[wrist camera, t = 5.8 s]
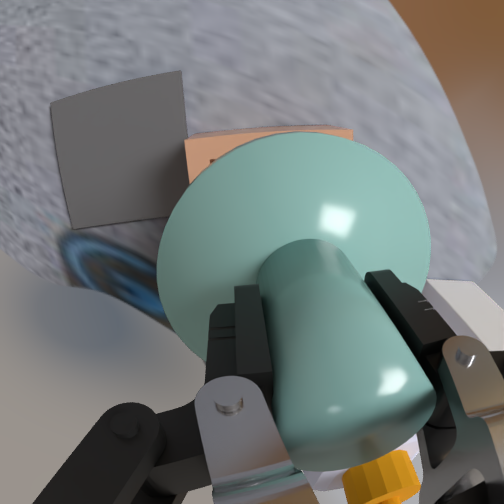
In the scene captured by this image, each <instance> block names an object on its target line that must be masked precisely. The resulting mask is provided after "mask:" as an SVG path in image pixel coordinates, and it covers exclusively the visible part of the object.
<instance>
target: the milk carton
mask: <svg viewBox="0 0 504 504" xmlns="http://www.w3.org/2000/svg"><path fill="white" fill-rule="evenodd" d="M422 295H423V296H424V297H425V298H426V299H427V301H429V303H430V304H431V305H432V306H433V309H435V310H436V311H437V312H438V313H439V314H440V315H441V317H442V318H443V319H444V320H445V321H446V323H447V324H448V325H449V326H450V328H451V329H452V330H453V331H454V332H455V334H456V335H457V336H458V335H464V336H470V337H473V338H475V339H477V340H479V341H480V342H482V343H483V344H484V345H485V346H486V347H487V349H488V350H489V351H504V310H503V309H502V308H500V306H498V305H497V304H496V303H495V302H494V301H493V300H492V299H491V298H490V297H489V296H488V295H487V294H486V293H485V292H484V291H483V290H482V289H480V288H479V287H478V286H477V285H476V284H475V283H474V282H472V281H453V280H434V279H426V282H425V285H424V288H423V290H422Z"/></svg>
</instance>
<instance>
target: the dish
mask: <svg viewBox="0 0 504 504" xmlns="http://www.w3.org/2000/svg"><path fill="white" fill-rule="evenodd" d="M293 131H305V132H319V133H324V134H330V135H335V136H339V137H342V138H346V139H349V140H351V141H353V130H352V129H347V128H342V127H336V126H331V125H297V126H275V127H259V128H246V129H234V130H224V131H214V132H205V133H197V134H194V135H192V136H190V137H189V138H187V139H185V140H184V142H185V150H186V159H187V167H188V175H189V182H190V183H191V182H192V181H193V180H194V179H195V178H196V177H197V176H198V175H199V174H200V173H201V172H202V170H204V169H205V168H206V167H207V166H208V165H210V164H211V163H212V162H213V161H215V160H216V159H217V158H218V157H220V156H222V155H223V154H225V153H227V152H228V151H230V150H232V149H233V148H235V147H237V146H239V145H242V144H244V143H246V142H249V141H251V140H253V139H256V138H260V137H264V136H268V135H271V134H275V133H284V132H293Z"/></svg>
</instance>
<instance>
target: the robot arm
mask: <svg viewBox="0 0 504 504" xmlns="http://www.w3.org/2000/svg"><path fill="white" fill-rule="evenodd" d="M364 282H365V283H366V284H367V286H368V287H369V289H370V290H371V292H372V293H373V294H374V296H375V297H376V299H377V300H378V302H379V303H380V305H381V306H382V308H383V309H384V311H385V312H386V314H387V315H388V317H389V318H390V320H391V321H392V323H393V324H394V326H395V327H396V329H397V330H398V332H399V333H400V335H401V336H402V338H403V339H404V341H405V342H406V344H407V346H408V347H409V349H410V350H411V352H412V353H413V355H414V357H415V358H416V360H417V361H418V363H419V365H420V366H421V368H422V370H423V371H424V373H425V374H426V376H427V378H428V379H429V381H430V383H431V384H432V386H433V388H434V390H435V392H436V396H437V399H436V405H435V408H434V411H433V413H432V415H431V416H430V418H429V419H428V421H427V422H426V423H425V425H424V426H423V427H422V428H421V429H420V430H419V431H418V432H417V433H416V435H417V440H418V446H419V451H420V456H421V462H422V468H423V482H422V485H421V488H420V493H419V504H504V351H489V350H488V349H487V347H486V346H485V345H484V344H483V343H482V342H480V341H479V340H477V339H475V338H473V337H470V336H464V335H458V336H457V335H456V334H455V332H454V331H453V330H452V329H451V328H450V326H449V325H448V324H447V323H446V321H445V320H444V319H443V318H442V317H441V315H440V314H439V313H438V312H437V311H436V310H435V309H433V306H432V305H431V304H430V303H429V301H427V299H426V298H425V297H424V296H423V295H422V293H421V292H420V291H419V290H418V289H416V288H414V287H413V286H411V285H409V284H407V283H406V282H404V283H402V282H401V281H400V280H399V279H398V278H397V276H396V275H395V274H394V273H393V272H392V271H391V270H390V269H386V270H378V271H370V272H367V273H366V274H365V278H364ZM234 302H235V303H227V304H218V305H217V306H216V307H215V309H214V310H213V312H212V313H211V314H210V318H209V331H208V344H207V359H206V374H205V384H204V386H203V387H202V388H201V389H200V390H199V391H198V393H197V395H196V397H195V399H194V400H193V401H191V402H190V403H188V404H186V405H184V406H182V407H179V408H176V409H173V410H169V411H165V412H162V413H158V414H155V413H154V412H153V410H152V409H150V408H149V407H147V406H145V405H143V404H140V403H133V402H132V403H131V402H130V403H122V404H119V405H116V406H114V407H112V408H110V409H109V410H107V411H106V412H105V413H104V414H103V415H102V416H101V417H100V419H99V420H98V421H97V422H96V424H95V425H94V426H93V427H92V429H91V430H90V431H89V432H88V434H87V435H86V436H85V437H84V439H83V440H82V441H81V443H80V444H79V445H78V446H77V447H76V449H75V450H74V451H73V452H72V454H71V455H70V456H69V458H68V459H67V460H66V462H65V463H64V464H63V465H62V466H61V468H60V469H59V470H58V472H57V473H56V474H55V476H54V477H53V478H52V479H51V480H50V482H49V483H48V484H47V486H46V487H45V488H44V489H43V491H42V492H41V493H40V495H39V496H38V497H37V498H36V500H35V501H34V502H33V504H181V503H182V501H183V500H184V498H185V496H186V494H187V492H188V491H191V490H195V489H198V488H202V487H205V486H208V485H211V484H212V486H213V491H212V496H213V502H214V504H319V502H318V500H317V498H316V496H315V494H314V492H313V489H312V487H311V485H310V483H309V482H308V480H307V478H306V476H305V475H304V474H303V473H302V471H301V470H299V469H296V468H295V467H294V465H293V463H292V461H291V459H290V457H289V455H288V452H287V450H286V448H285V446H284V443H283V441H282V439H281V436H280V434H279V432H278V430H277V427H276V425H275V423H274V420H273V415H272V407H271V404H272V397H273V394H274V392H273V372H272V365H271V359H270V352H269V346H268V340H267V333H266V327H265V321H264V314H263V308H262V302H261V296H260V289H259V284H250V285H240V286H234Z"/></svg>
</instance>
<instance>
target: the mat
mask: <svg viewBox="0 0 504 504" xmlns="http://www.w3.org/2000/svg"><path fill="white" fill-rule="evenodd" d="M50 104H51V114H52V122H53V130H54V137H55V144H56V151H57V157H58V162H59V168H60V173H61V178H62V183H63V188H64V193H65V197H66V202H67V206H68V210H69V215H70V219H71V223H72V226H73V229H78V228H84V227H91V226H98V225H105V224H112V223H120V222H127V221H135V220H142V219H150V218H158V217H167V216H171V213H172V211H173V209H174V208H175V206H176V204H177V202H178V201H179V199H180V198H181V196H182V195H183V193H184V192H185V190H186V189H187V187H188V186H189V185H190V182H189V175H188V167H187V159H186V150H185V142H184V140H185V139H187V138H188V134H187V125H186V115H185V105H184V95H183V84H182V72H181V71H174V72H168V73H163V74H157V75H152V76H147V77H142V78H137V79H133V80H128V81H124V82H120V83H116V84H111V85H108V86H104V87H100V88H96V89H93V90H89V91H86V92H82V93H79V94H76V95H73V96H69V97H66V98H63V99H60V100H57V101H54V102H52V103H50Z"/></svg>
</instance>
